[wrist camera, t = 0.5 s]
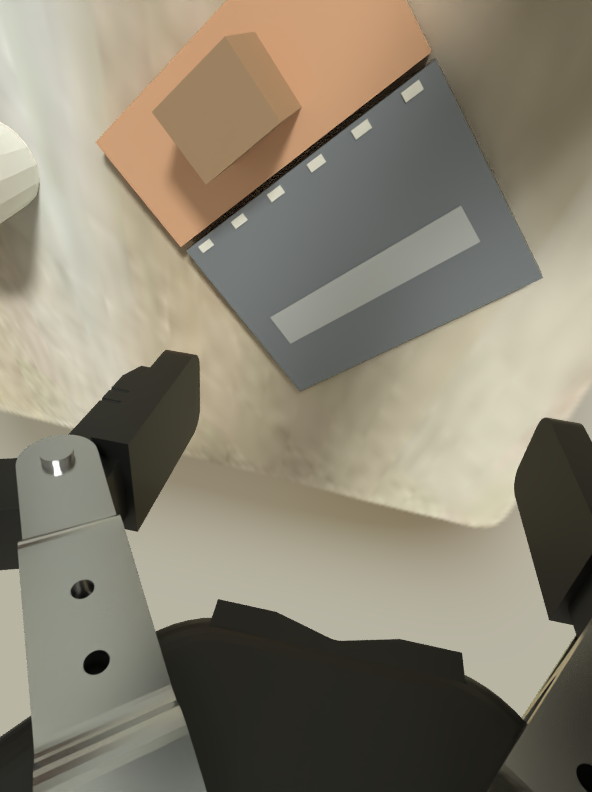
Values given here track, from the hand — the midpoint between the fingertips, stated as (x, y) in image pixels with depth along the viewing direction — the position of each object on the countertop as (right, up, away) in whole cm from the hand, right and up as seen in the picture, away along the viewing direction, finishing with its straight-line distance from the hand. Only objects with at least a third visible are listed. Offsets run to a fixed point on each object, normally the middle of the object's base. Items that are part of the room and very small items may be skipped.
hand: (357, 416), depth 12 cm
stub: (-4, +17, +16) cm, 24 cm away
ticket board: (+2, +9, +20) cm, 22 cm away
